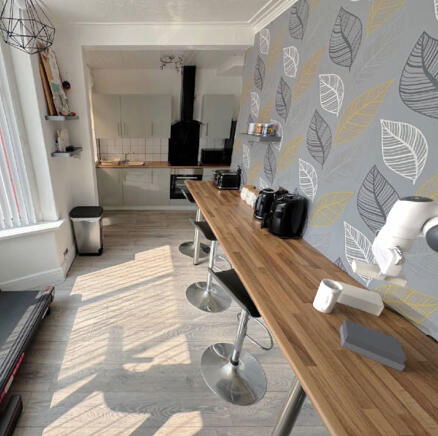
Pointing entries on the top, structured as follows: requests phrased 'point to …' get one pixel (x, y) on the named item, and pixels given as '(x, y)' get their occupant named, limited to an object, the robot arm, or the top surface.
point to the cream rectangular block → (376, 272)
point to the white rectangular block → (360, 299)
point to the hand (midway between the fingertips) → (376, 273)
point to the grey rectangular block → (372, 344)
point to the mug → (327, 295)
